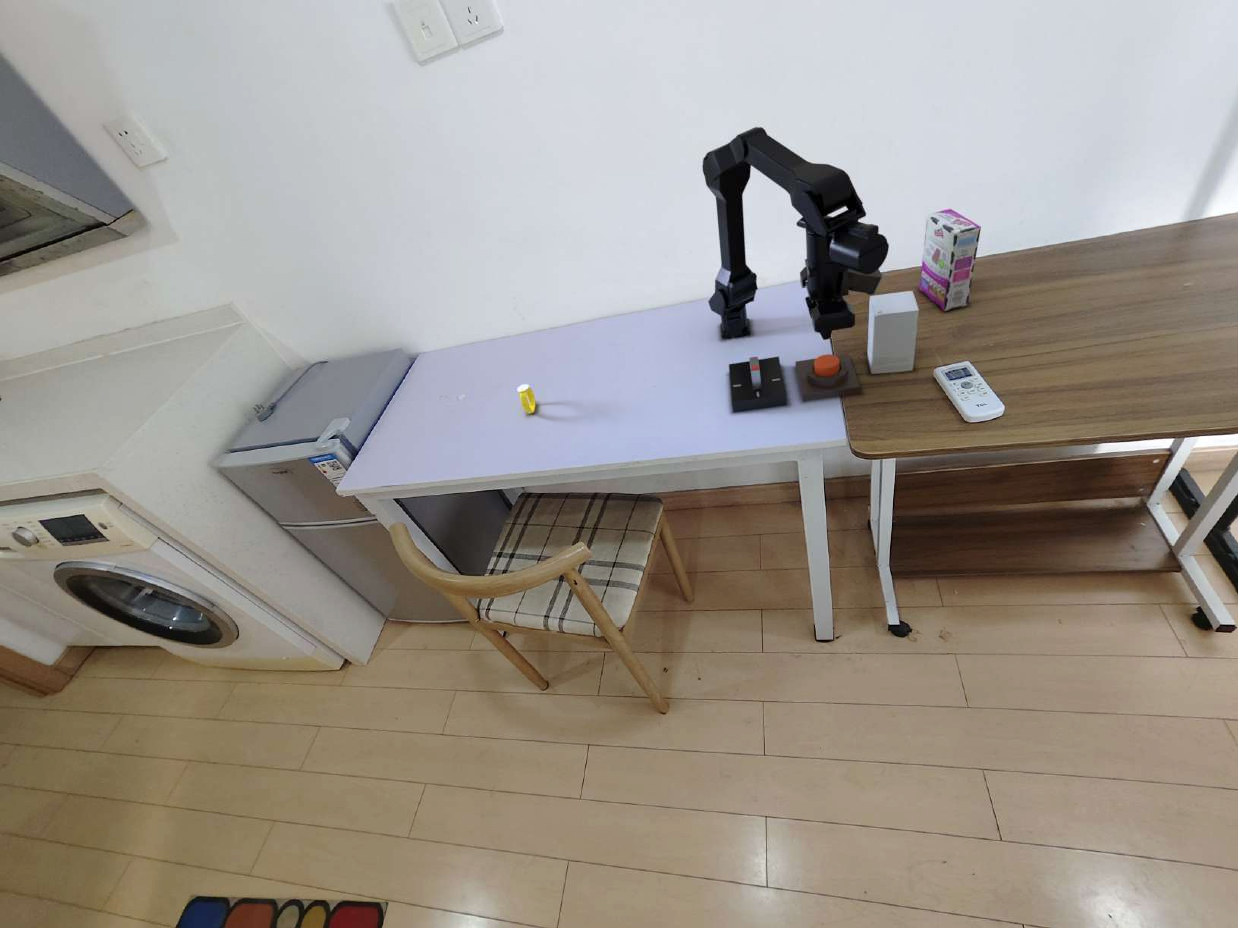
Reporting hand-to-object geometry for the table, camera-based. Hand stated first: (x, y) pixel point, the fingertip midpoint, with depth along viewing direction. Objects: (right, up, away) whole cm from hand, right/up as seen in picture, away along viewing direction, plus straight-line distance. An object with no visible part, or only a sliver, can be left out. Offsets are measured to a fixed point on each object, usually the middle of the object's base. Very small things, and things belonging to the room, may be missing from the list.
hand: (826, 338), depth 104 cm
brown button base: (+3, -7, +7) cm, 10 cm away
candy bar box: (+31, +12, +17) cm, 37 cm away
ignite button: (+2, -5, +4) cm, 7 cm away
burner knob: (-11, -7, +8) cm, 15 cm away
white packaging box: (+15, -3, +7) cm, 16 cm away
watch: (-57, -10, +26) cm, 63 cm away
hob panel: (-10, -8, +11) cm, 16 cm away
